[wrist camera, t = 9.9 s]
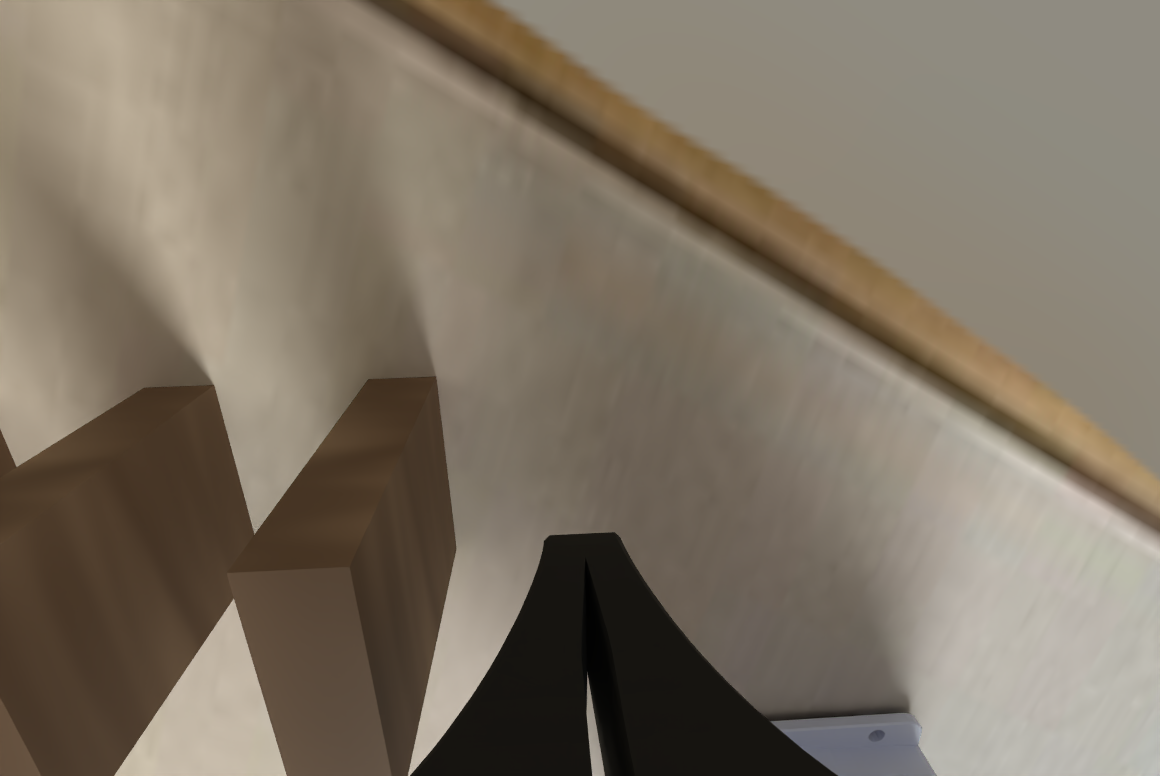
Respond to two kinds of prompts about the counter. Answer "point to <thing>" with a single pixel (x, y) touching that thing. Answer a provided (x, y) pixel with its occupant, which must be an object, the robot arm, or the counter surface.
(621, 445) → the counter surface
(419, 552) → the domino
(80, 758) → the domino
